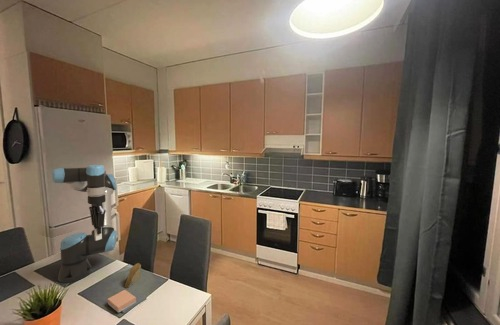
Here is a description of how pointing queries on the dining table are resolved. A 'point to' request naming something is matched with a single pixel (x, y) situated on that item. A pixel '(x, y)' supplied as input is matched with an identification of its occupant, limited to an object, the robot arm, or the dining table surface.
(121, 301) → the tile
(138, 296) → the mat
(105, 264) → the dining table surface
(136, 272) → the rock
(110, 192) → the robot arm
